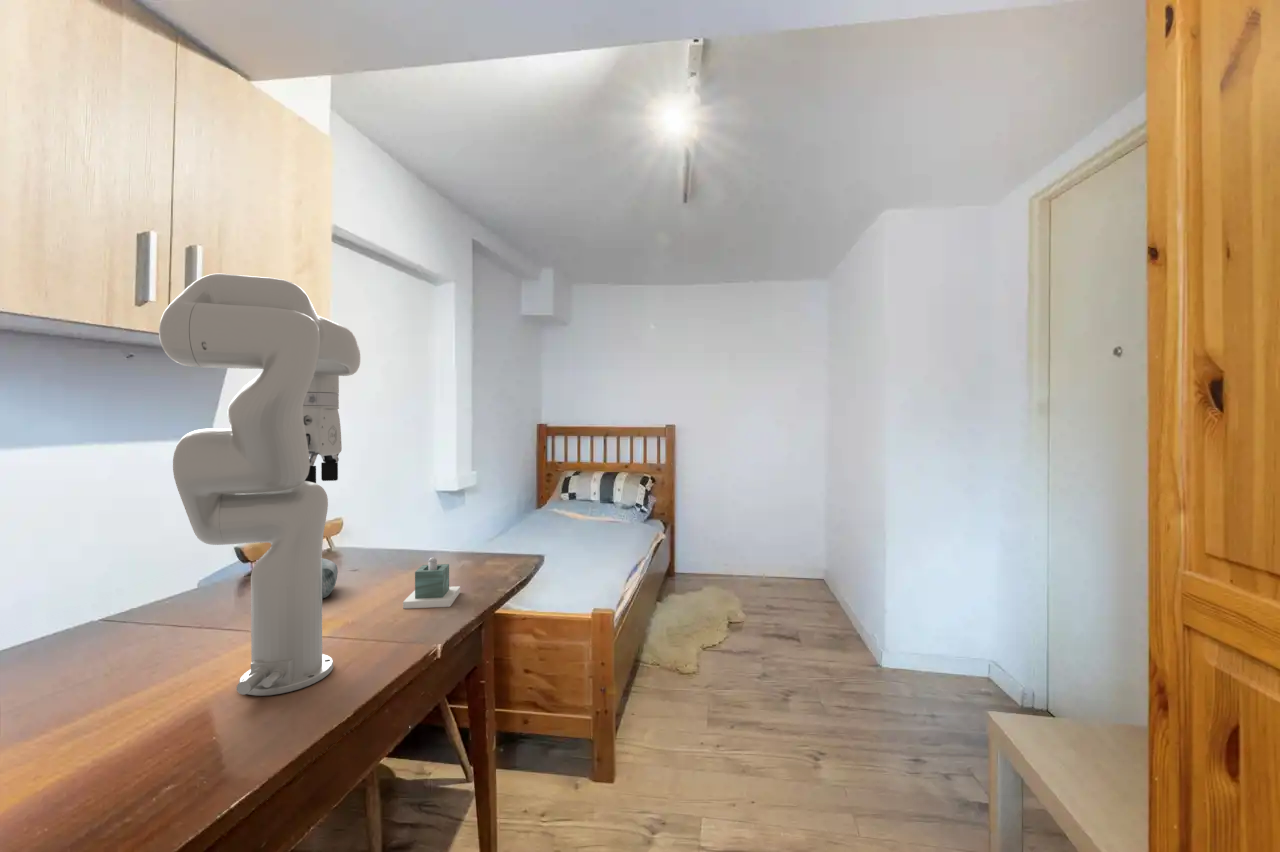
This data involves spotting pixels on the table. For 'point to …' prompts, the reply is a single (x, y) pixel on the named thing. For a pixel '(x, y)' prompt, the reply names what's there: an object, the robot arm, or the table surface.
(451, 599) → the white peg stand
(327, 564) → the spool
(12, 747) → the table surface
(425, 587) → the bead
